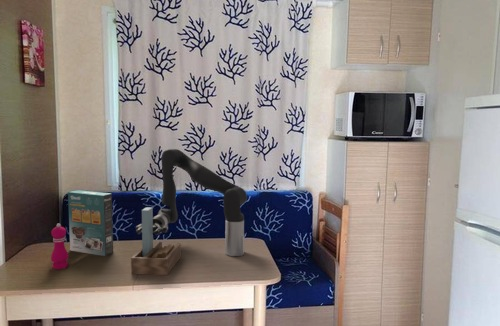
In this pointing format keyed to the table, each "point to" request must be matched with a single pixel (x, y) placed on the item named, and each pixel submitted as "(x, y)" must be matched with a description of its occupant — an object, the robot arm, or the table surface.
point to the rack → (155, 261)
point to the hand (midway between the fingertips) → (147, 232)
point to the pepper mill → (59, 248)
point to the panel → (147, 230)
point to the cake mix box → (90, 222)
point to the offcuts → (163, 251)
